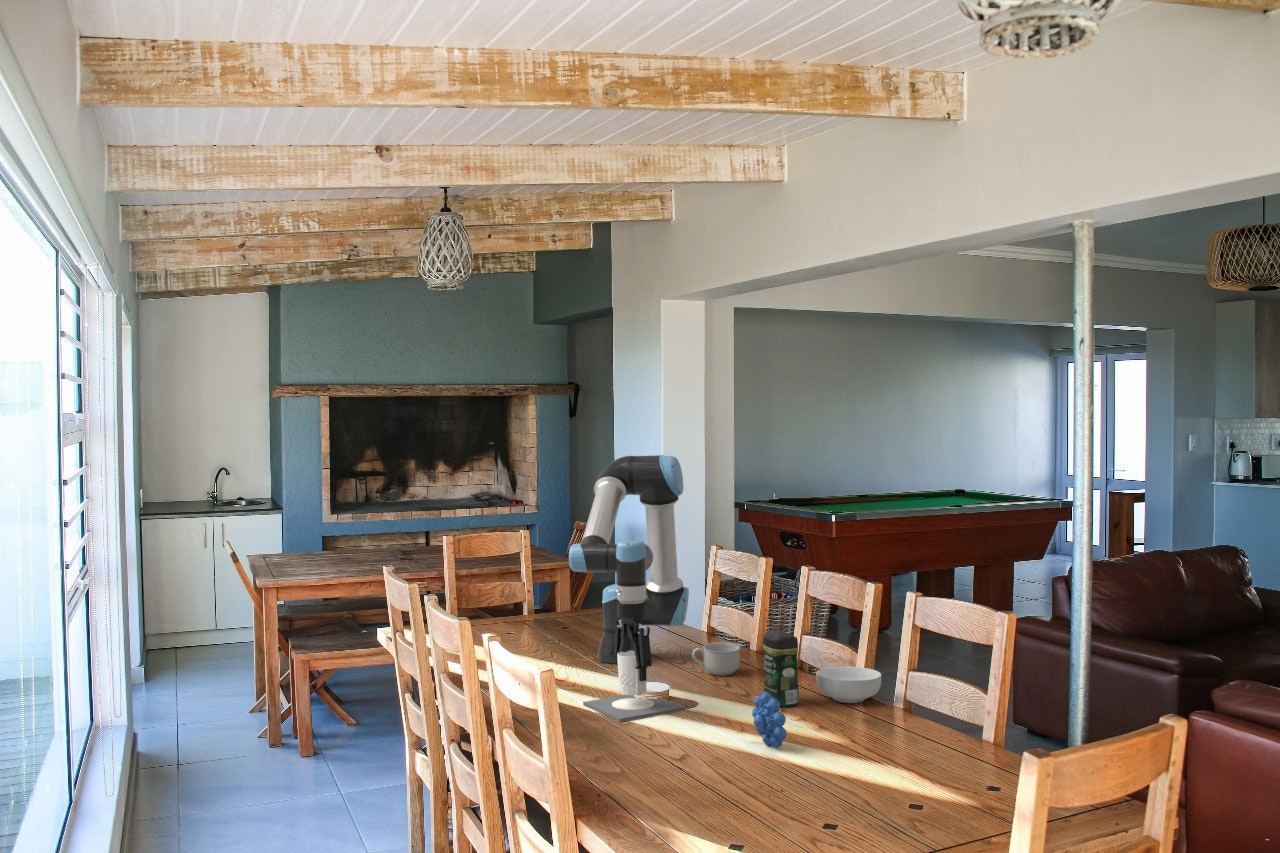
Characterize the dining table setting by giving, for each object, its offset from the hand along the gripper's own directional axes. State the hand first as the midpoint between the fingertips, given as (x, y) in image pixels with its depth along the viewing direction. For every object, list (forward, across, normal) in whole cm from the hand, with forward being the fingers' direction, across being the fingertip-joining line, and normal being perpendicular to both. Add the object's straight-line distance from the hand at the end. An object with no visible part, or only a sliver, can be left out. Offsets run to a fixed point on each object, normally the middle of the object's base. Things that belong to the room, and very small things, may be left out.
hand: (632, 689), depth 278 cm
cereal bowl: (+5, +25, +51) cm, 57 cm away
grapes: (+5, +45, +8) cm, 46 cm away
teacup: (+5, -18, +39) cm, 43 cm away
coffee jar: (+5, +18, +34) cm, 39 cm away
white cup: (+1, 0, 0) cm, 1 cm away
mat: (+5, 0, 0) cm, 5 cm away
